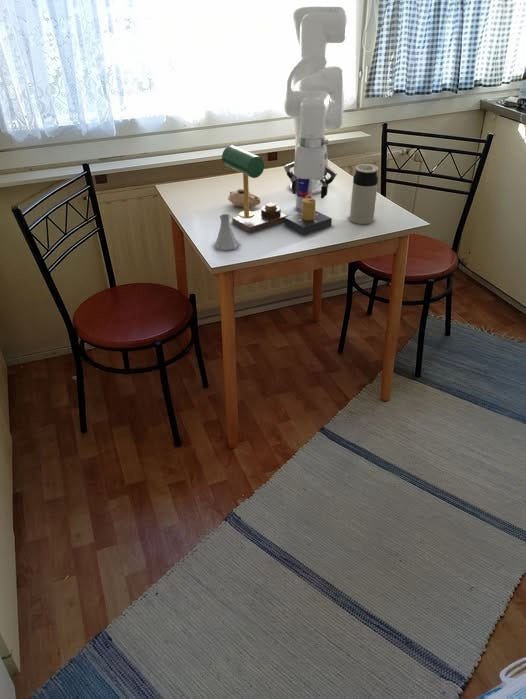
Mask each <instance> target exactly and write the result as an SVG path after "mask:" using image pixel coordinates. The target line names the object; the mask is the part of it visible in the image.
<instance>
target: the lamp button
mask: <svg viewBox="0 0 526 699" xmlns="http://www.w3.org/2000/svg"><path fill="white" fill-rule="evenodd" d="M276 205H277V203H276V202H267V203H265V205H264V206H265V209H266V210H268V211H274V210H276Z"/></svg>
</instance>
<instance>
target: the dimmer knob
mask: <svg viewBox="0 0 526 699" xmlns="http://www.w3.org/2000/svg"><path fill="white" fill-rule="evenodd" d="M316 203H317V200H316V199H315V198H313V197H311V198H304V199H303V200H302V219H304V220H313V219H315V211H316V207H317V206H316Z"/></svg>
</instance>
